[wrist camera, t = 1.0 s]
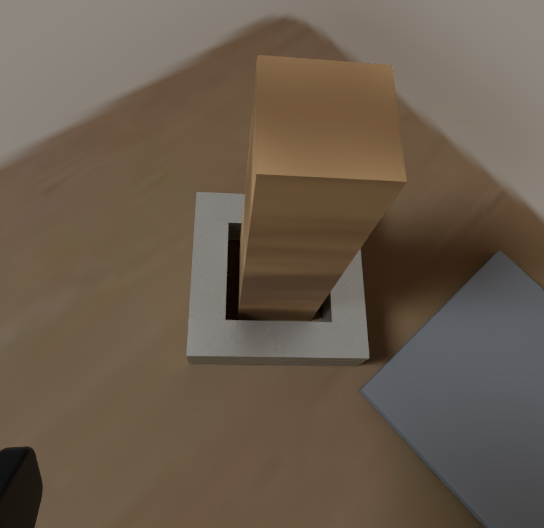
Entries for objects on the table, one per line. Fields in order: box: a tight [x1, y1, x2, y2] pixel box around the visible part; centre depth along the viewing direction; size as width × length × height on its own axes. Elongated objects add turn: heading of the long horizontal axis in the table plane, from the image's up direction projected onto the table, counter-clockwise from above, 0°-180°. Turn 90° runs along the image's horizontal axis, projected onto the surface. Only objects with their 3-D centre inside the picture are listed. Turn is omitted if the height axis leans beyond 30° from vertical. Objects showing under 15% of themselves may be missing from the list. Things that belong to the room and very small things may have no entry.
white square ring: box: [187, 192, 369, 366], centre depth 23 cm, size 8×8×2 cm
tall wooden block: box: [238, 55, 407, 321], centre depth 18 cm, size 4×4×13 cm
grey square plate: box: [359, 250, 544, 528], centre depth 23 cm, size 11×11×1 cm
